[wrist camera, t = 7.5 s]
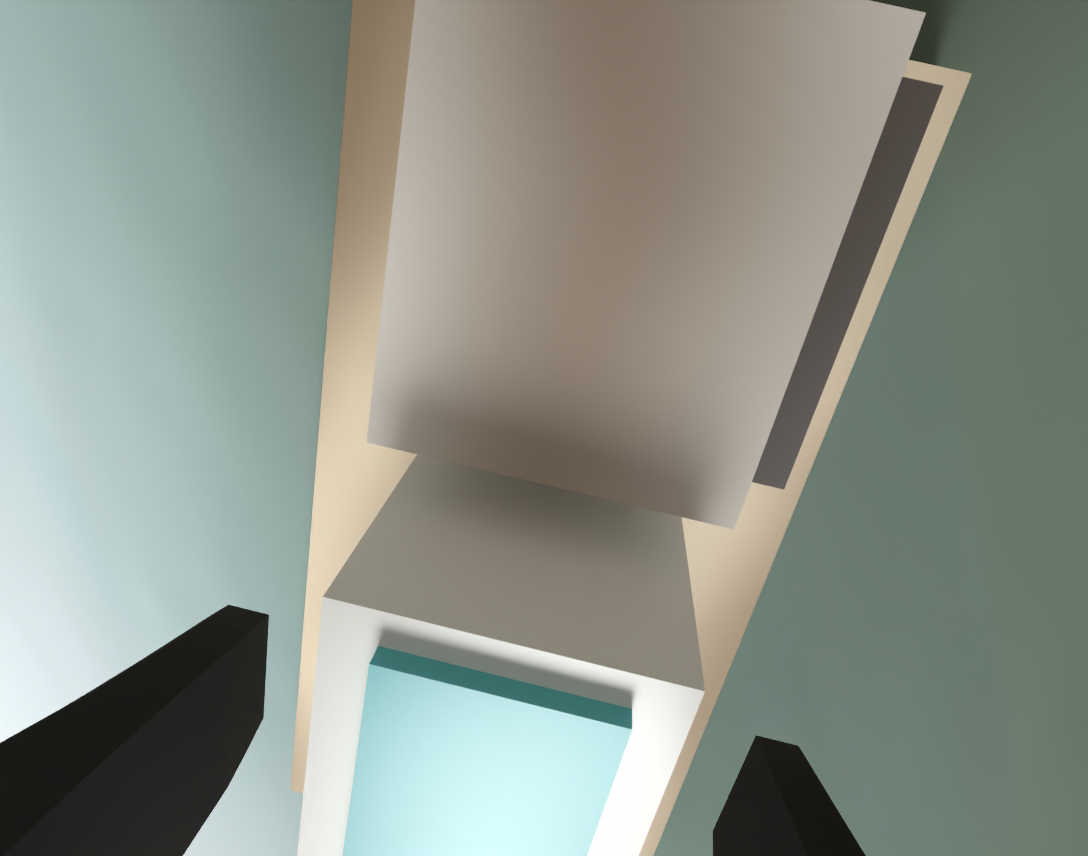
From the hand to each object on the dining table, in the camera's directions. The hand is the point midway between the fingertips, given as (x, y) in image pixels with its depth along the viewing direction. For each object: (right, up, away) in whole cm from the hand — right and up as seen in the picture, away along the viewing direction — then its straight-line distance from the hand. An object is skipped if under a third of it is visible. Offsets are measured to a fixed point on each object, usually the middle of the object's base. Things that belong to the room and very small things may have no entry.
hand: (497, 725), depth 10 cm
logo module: (+1, +2, +4) cm, 5 cm away
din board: (+1, +3, +6) cm, 7 cm away
